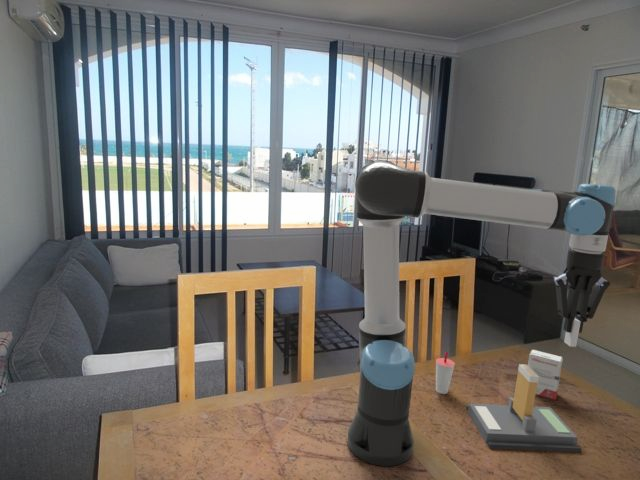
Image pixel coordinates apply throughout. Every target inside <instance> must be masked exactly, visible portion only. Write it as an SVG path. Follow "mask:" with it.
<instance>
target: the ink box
mask: <svg viewBox="0 0 640 480" xmlns="http://www.w3.org/2000/svg"><path fill="white" fill-rule="evenodd" d="M562 364H563V356H561V355H560V356H559V355H556V354H552V353H549V352H544V351H540V350H536V349H531V351H530V352H529V355H528V363H527V365H528V366H529V367H530V368H531V369H532V370H533V371H534V372H535V373H536V374H537V375H538V376H539V379H538V383H537V388H536V394H535V395H538V396H541V397H544V398H548V399H551V400H556V398H557V395H558V389H559V384H560V378H561V377H560V376H561V371H562V366H563V365H562Z"/></svg>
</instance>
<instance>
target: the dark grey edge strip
mask: <svg viewBox="0 0 640 480" xmlns="http://www.w3.org/2000/svg"><path fill="white" fill-rule="evenodd" d="M487 447H488V448H489V449H499V450H500V449H505V450H523V451H524V450H525V451H527V450H528V451H530V450H531V451H548V452H549V451H550V452H551V451H552V452H572V453H574V452H575V453H580V452H581V453H582V447H581V446H580V445H577V444H576V445H555V444H532V443H509V442H488V443H487Z"/></svg>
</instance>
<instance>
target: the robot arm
mask: <svg viewBox="0 0 640 480" xmlns="http://www.w3.org/2000/svg"><path fill="white" fill-rule="evenodd" d="M354 184H355V185H354V187H355V192H356V193H355V197H356V198H355V199H356V200H355V201H356V203H355V204H356V207H355V208H356V220H357V221H359V222H360V223H361V224H362V226H363V227H362V229H363V231H362V233H363V234H362V235H363V283H364V284H363V285H364V287H363V291H364V318H363V319H362V320H361V321H360V322H359V324H358V329H359V330H358V335H359V337H358V338H359V339H358V340H359V341H358V353H359V388H358V401H357V410H356V411H355V414H354V417H353V419H352V421H351V423H350V425H349V427H348V431H347V436H346V437H347V439H346V443H347V447H348V449H349V450H350V452H351V453H352V454H353V455H354V456H356V457H357V458H358V459H360V460H361V461H364V462H365V463H368V464H371V465H376V466H381V467H394V466H398V465H401V464H404V463H405V462H407V461H408V460H410V458H411V457H412V454H413V450H414V437H413V432H412V428H411V424H410V420H409V417H410V407H411V399H412V398H411V397H412V389H413V380H414V376H415V371H416V369H415V368H416V367H415V357H414V355H413V353H412V351H411V350H410V349H409V348H408V347H407V346H406V345H407V343H406V342H407V341H406V340H407V339H406V334H407V333H406V327H407V326H406V323H405V322H404V321H403V320H402V319H401V318H400V224H401V223H402V222H403V221H404V220H405V219H406V217H410V218H418V219H420V218H421V217H423V216H424V215H433V216H434V215H435V216H441V217H450V218H455V219H457V218H458V219H464V220H466V219H467V220H473V221H474V220H475V221H482V222H491V223H497V224H507V225H514V226H522V227H531V228H540V229H547V230H552V231H561V232H568V233H569V234H570V237H569V244H568V246H569V249H568V250H567V255H566V263H565V264H566V267H565V269H564V270H563V272H562V274H560V275H558V276H556V275H554V276H553V277H552V282H553V283H554V285H555V294H556V307H557V314H558V315H560V316H561V317H563V318H564V323H563V331H565V334H564V339H563V341H564V344H566V345H568V346H569V347H570V348H571V347H572V348H577V343H578V339H579V334H581V333H582V332H583V327H584V323H586V322H588V319H590V320H592V319H593V318H594V316H595V314H596V311H597V309H598V307H599V304H600V302H601V300H602V298H603V296H604V294H605V291H606V290H607V289H608V288H609V287H610V286H611V282H610V281H608V280H606V279H605V278H604V277H603V276H602V275H603V274H602V271H601V270H602V269H603V267H604V262H605V257H606V255H605V253H603V252H606V249H607V245H608V240H609V235H610V234H609V232H610V228H611V223H612V218H613V213H614V208H615V204H616V192H617V191H616V188H615V187H614V186H613V185H608V184H598V183H597V184H596V183H581V184H579V186H578V189H577V191H564V190H553V189H552V190H551V189H542V188H540V189H527V188H517V187H509V186H504V185H503V186H502V185H493V184H485V183H476V182H471V181H469V182H468V181H463V180H462V181H461V180H454V179H444V178H438V177H437V178H436V177H431V176H430V175H429V174H428V172H426V171H421V170H420V171H419V170H414V169H411V168H405V167H403V166H399V165H397V164H395V163H394V162H391V161H389V160H384V159H383V160H382V159H377V160H373V161H370V162H368V163H366V164H364V165H363V166H362V168H361V169H359V171H358V173H357V175H356V177H355V183H354ZM567 283H568V285H567ZM566 285H567V287H566ZM567 289H568V293H567Z"/></svg>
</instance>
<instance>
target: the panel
mask: <svg viewBox="0 0 640 480" xmlns="http://www.w3.org/2000/svg"><path fill="white" fill-rule="evenodd" d="M513 400H514V396H513V397H511V396H509V397H508V402H507V403H508V404H489V403H471V402H470V403H468V405H467V406H468V411H467V413H468V415H469V416H470V418H471V420H472V422H473V423H474V425H475V427H476V428H477V430H478V432H479V433H480V436H481V437H482V439H483V440H484V442H485V443H486V444H488V442H509V443H532V444H555V445H577V444H578V436H577V434H575V433H574V432H573V430H572V429H571V428H570V427H569V426H568V425H567V424H566V423H565V422H564V421H563V420H562V419H561V417H560V416H559V415H558V414H557V413H556V412H555V411H554V410H553V408H551V407H550V406H539V407H535V406H533V412H532V416H524V418H523V420H522V419H521V418H520V417H519V415H518V414H517V413H516V411H515V410H514V409H513V408H512V406H513Z"/></svg>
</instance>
